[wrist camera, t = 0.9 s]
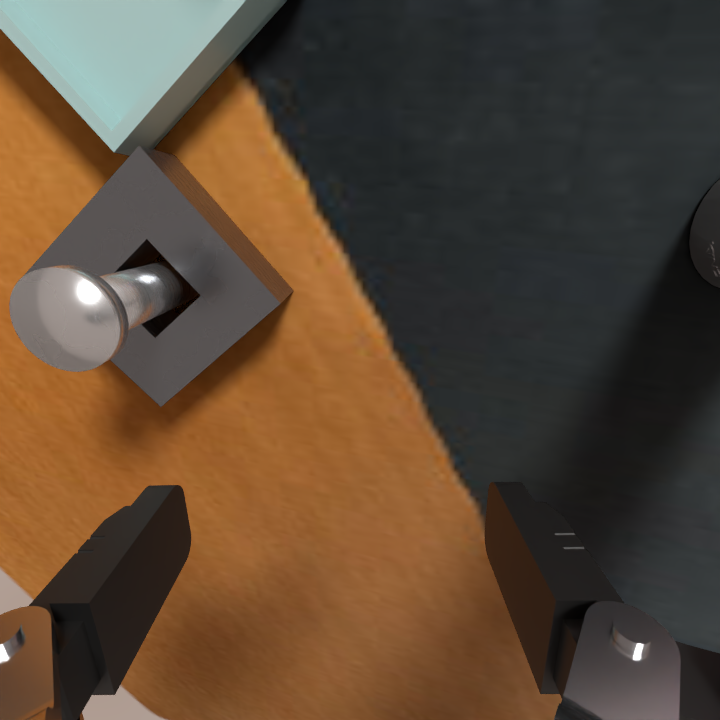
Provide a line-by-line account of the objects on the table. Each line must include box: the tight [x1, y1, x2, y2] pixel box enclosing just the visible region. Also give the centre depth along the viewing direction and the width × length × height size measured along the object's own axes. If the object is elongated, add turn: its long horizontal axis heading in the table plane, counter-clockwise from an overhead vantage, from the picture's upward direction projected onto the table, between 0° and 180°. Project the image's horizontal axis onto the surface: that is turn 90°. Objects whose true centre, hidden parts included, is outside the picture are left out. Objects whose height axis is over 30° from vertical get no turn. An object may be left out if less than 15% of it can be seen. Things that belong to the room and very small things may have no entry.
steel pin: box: [10, 260, 199, 372], centre depth 25 cm, size 5×5×12 cm
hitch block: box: [24, 146, 293, 407], centre depth 29 cm, size 12×12×4 cm
